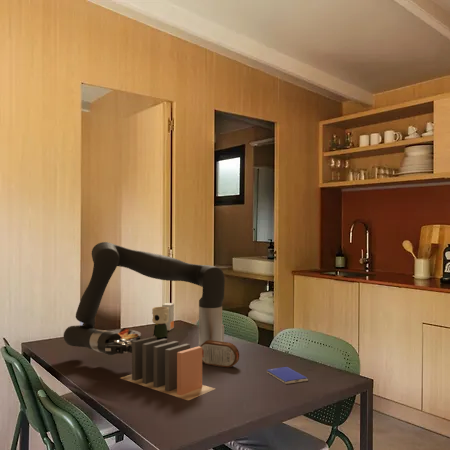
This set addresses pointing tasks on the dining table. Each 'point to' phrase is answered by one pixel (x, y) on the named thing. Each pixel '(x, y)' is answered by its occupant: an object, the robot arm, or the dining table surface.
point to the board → (186, 396)
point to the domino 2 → (149, 360)
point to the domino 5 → (189, 370)
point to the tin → (219, 353)
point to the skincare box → (170, 315)
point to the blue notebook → (286, 375)
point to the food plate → (127, 333)
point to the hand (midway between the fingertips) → (138, 350)
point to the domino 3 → (161, 363)
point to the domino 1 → (139, 356)
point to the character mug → (160, 321)
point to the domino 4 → (172, 366)
